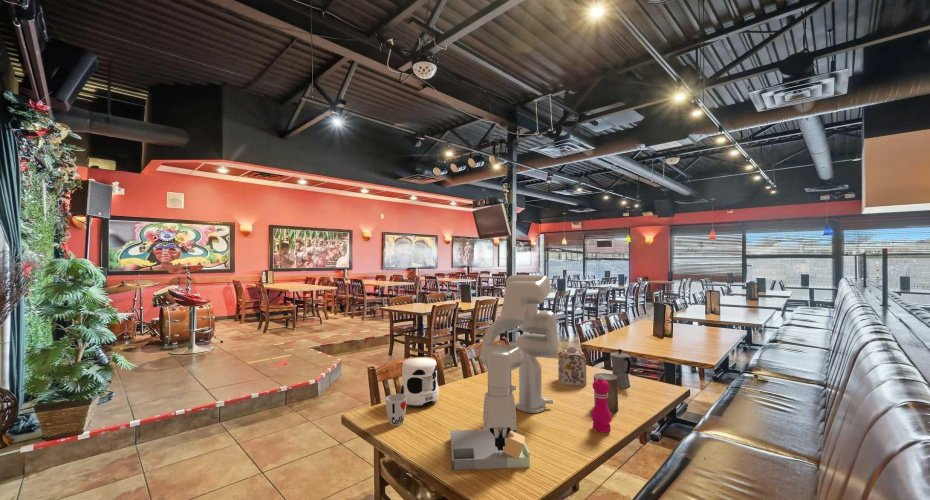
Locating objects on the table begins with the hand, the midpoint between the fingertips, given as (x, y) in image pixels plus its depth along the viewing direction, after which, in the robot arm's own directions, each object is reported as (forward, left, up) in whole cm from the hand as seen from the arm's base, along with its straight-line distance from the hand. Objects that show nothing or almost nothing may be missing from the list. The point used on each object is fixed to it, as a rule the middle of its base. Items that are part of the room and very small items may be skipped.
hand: (499, 448), depth 121 cm
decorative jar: (-49, -74, -5) cm, 89 cm away
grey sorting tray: (+3, -7, -4) cm, 9 cm away
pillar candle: (-52, -40, -5) cm, 65 cm away
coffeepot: (-72, -67, -5) cm, 98 cm away
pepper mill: (-42, -21, -5) cm, 47 cm away
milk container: (+28, -53, -5) cm, 60 cm away
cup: (+36, -32, -5) cm, 48 cm away
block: (-4, +1, -1) cm, 4 cm away
